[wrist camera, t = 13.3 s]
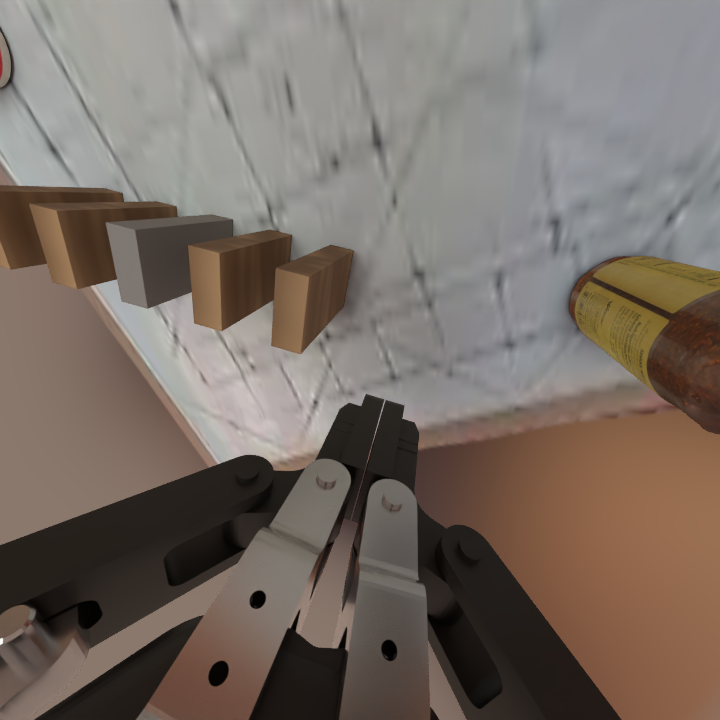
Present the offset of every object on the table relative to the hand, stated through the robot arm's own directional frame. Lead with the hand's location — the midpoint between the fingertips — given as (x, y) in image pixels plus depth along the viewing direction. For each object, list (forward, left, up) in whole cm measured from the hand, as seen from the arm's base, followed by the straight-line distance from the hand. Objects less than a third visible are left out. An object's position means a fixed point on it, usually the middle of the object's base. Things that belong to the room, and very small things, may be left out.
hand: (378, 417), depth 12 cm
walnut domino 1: (+29, 0, -17) cm, 33 cm away
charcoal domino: (+18, 0, -17) cm, 25 cm away
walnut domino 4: (+7, 0, -17) cm, 18 cm away
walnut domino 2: (+23, 0, -17) cm, 29 cm away
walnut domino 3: (+12, 0, -17) cm, 21 cm away
